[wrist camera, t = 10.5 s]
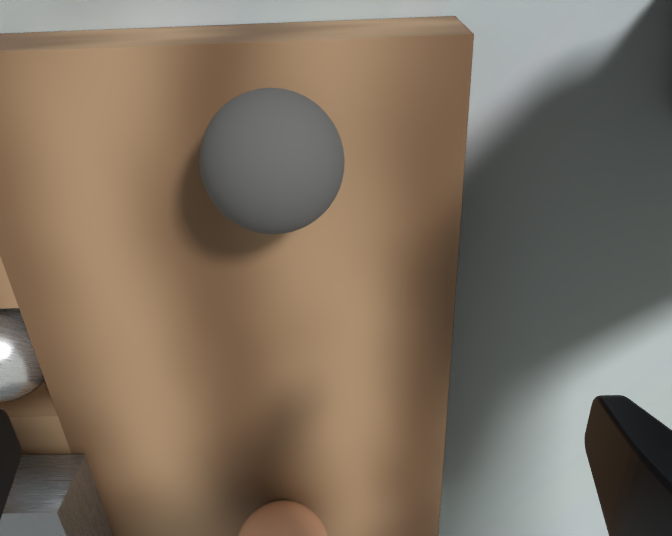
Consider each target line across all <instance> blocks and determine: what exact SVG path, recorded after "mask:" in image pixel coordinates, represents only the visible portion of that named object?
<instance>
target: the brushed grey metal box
mask: <svg viewBox="0 0 672 536" xmlns="http://www.w3.org/2000/svg"><path fill="white" fill-rule="evenodd" d="M0 536H113V534H112V531H111V528H110V525H109V522H108V519H107V516H106V513H105V510H104V507H103V505H102V502H101V499H100V496H99V493H98V490H97V487H96V484H95V481H94V478H93V475H92V473H91V470H90V467H89V464H88V461H87V458H86V455H85V454H66V455H21V460H20V464H19V467H18V470H17V473H16V476H15V478H14V481H13V484H12V487H11V490H10V493H9V496H8V499H7V502H6V505H5V508H4V511H3V514H2V517H1V520H0Z"/></svg>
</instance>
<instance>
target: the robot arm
mask: <svg viewBox="0 0 672 536" xmlns="http://www.w3.org/2000/svg"><path fill="white" fill-rule="evenodd" d="M585 449H586V453H587V457H588V461H589V464H590V468H591V472H592V475H593V479H594V483H595V486H596V490H597V493H598V497H599V501H600V504H601V508H602V512H603V515H604V519H605V523H606V526H607V530H608V533H609V536H672V430H671V429H669V428H668V427H667V426H665V425H664V424H663V423H661V422H660V421H659V420H657V419H656V418H654V417H653V416H652V415H650V414H649V413H648V412H646V411H645V410H644V409H642V408H641V407H639V406H638V405H637V404H635V403H634V402H633V401H631V400H630V399H628V398H627V397H625V396H621V395H603V396H597V397H596V398H595V399H594V400H593V403H592V406H591V410H590V415H589V419H588V424H587V428H586V432H585ZM21 454H22V450H21V444H20V442H19V439H18V437H17V434H16V432H15V430H14V427H13V425H12V422H11V420H10V417H9V415H8V413H7V412H6V411H5V410H4V409H2V408H0V520H1V517H2V514H3V511H4V508H5V505H6V502H7V499H8V496H9V493H10V490H11V487H12V484H13V481H14V478H15V476H16V473H17V470H18V467H19V464H20V460H21Z"/></svg>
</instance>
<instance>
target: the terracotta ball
mask: <svg viewBox="0 0 672 536" xmlns="http://www.w3.org/2000/svg"><path fill="white" fill-rule="evenodd" d="M238 536H328V534H327V531H326V529H325V527H324V525H323V523H322V521H321V520H320V519H319V517H318V516H317V515H316V514H315V513H314V512H313V511H312V510H311V509H309V508H308V507H306V506H304V505H302V504H300V503H297V502H294V501H288V500H281V501H274V502H270V503H268V504H265V505H263V506H261V507H260V508H258V509H257V510H256V511H254V512H253V513H252V514H251V515H250V516H249V517H248V518H247V520H246V521H245V522H244V524H243V525H242V527H241V529H240V531H239V534H238Z"/></svg>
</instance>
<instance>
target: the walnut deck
mask: <svg viewBox="0 0 672 536" xmlns="http://www.w3.org/2000/svg"><path fill="white" fill-rule="evenodd" d="M473 40H474V34H473V33H472V32H471V31H470V30H469V29H468V28H467V27H466V26H465V25H464V24H463V23H462V22H461V21H460V20H459V19H458V18H457V17H456V16H443V17H417V18H391V19H366V20H340V21H314V22H288V23H263V24H237V25H211V26H185V27H160V28H134V29H108V30H82V31H57V32H31V33H5V34H0V309H4V308H19V310H20V312H21V315H22V318H23V321H24V323H25V326H26V329H27V332H28V335H29V337H30V340H31V343H32V346H33V348H34V351H35V354H36V357H37V360H38V362H39V365H40V368H41V371H42V374H43V376H44V381H43V382H42V383H41V384H40V385H39V386H38V387H37V388H35V389H34V390H33V391H31V392H30V393H28V394H26V395H24V396H22V397H20V398H18V399H14V400H11V401H5V402H0V408H2V409H4V410H5V411H6V412H7V413H8V415H9V417H10V420H11V422H12V425H13V427H14V430H15V432H16V434H17V437H18V439H19V442H20V444H21V450H22V454H21V455H66V454H85V455H86V458H87V461H88V464H89V467H90V470H91V473H92V475H93V478H94V481H95V484H96V487H97V490H98V493H99V496H100V499H101V502H102V505H103V507H104V510H105V513H106V516H107V519H108V522H109V525H110V528H111V531H112V534H113V536H238V534H239V531H240V529H241V527H242V525H243V524H244V522H245V521H246V520H247V518H248V517H249V516H250V515H251V514H252V513H253V512H254V511H256V510H257V509H258V508H260V507H261V506H263V505H265V504H268V503H270V502H274V501H281V500H288V501H294V502H297V503H300V504H302V505H304V506H306V507H308V508H309V509H311V510H312V511H313V512H314V513H315V514H316V515H317V516H318V517H319V519H320V520H321V521H322V523H323V525H324V527H325V529H326V531H327V534H328V536H438V533H439V519H440V505H441V491H442V477H443V463H444V448H445V434H446V420H447V406H448V392H449V378H450V364H451V350H452V336H453V322H454V308H455V293H456V279H457V265H458V251H459V237H460V223H461V209H462V195H463V181H464V167H465V153H466V138H467V124H468V110H469V96H470V82H471V68H472V54H473ZM261 88H281V89H287V90H290V91H294V92H297V93H299V94H301V95H303V96H305V97H307V98H309V99H310V100H312V101H313V102H315V103H316V104H317V105H318V106H320V107H321V108H322V109H323V111H324V112H325V113H326V114H327V115H328V116H329V118H330V119H331V120H332V122H333V123H334V125H335V127H336V129H337V131H338V133H339V136H340V138H341V141H342V146H343V150H344V159H345V163H344V174H343V179H342V183H341V186H340V189H339V191H338V193H337V196H336V198H335V199H334V201H333V202H332V204H331V205H330V207H329V208H328V209H327V210H326V211H325V213H324V214H322V215H321V216H320V217H319V218H318V219H317V220H315V221H314V222H312V223H311V224H309V225H308V226H306V227H304V228H301V229H299V230H296V231H293V232H289V233H283V234H263V233H257V232H254V231H250V230H248V229H245V228H243V227H241V226H239V225H237V224H235V223H234V222H232V221H231V220H229V219H228V218H227V217H226V216H225V215H224V214H222V213H221V212H220V211H219V209H218V208H217V207H216V206H215V205H214V203H213V202H212V200H211V199H210V197H209V195H208V193H207V191H206V189H205V186H204V184H203V181H202V177H201V173H200V163H199V160H200V147H201V142H202V139H203V136H204V133H205V131H206V128H207V126H208V125H209V123H210V121H211V119H212V118H213V117H214V115H215V114H216V113H217V112H218V111H219V110H220V109H221V108H222V107H223V106H224V105H225V104H226V103H227V102H229V101H230V100H231V99H233V98H235V97H237V96H238V95H240V94H243V93H245V92H248V91H252V90H256V89H261Z"/></svg>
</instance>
